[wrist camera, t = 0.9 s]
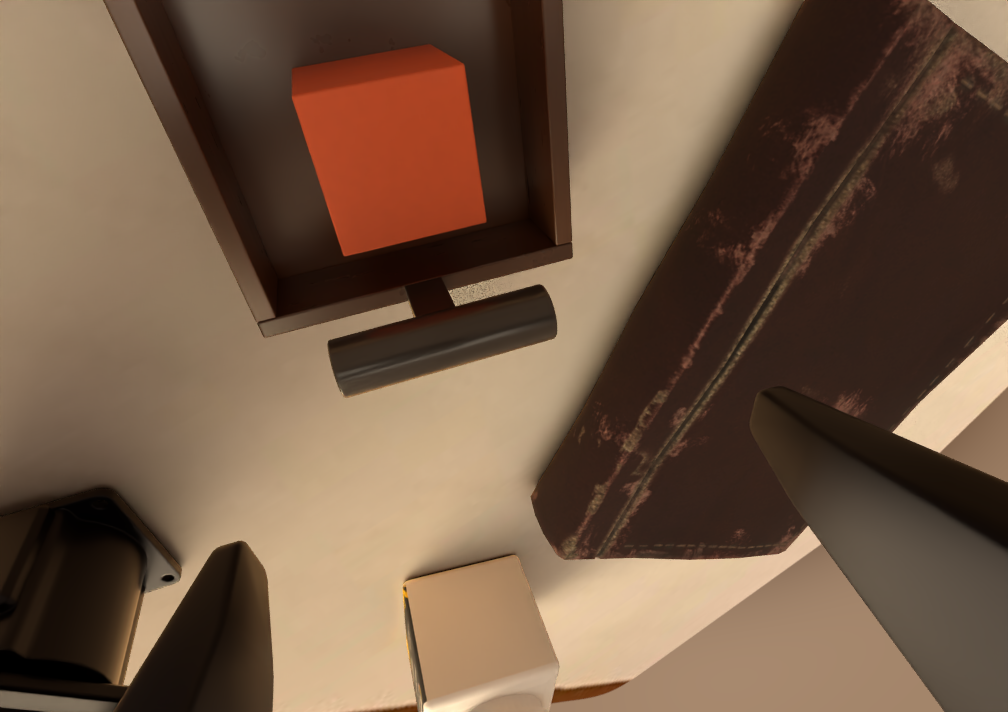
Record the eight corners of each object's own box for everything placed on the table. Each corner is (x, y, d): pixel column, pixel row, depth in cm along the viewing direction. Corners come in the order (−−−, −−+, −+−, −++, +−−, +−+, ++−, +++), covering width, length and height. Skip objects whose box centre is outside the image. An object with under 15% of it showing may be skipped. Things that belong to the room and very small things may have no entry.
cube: (454, 178, 18) (487, 222, 15) (334, 205, 18) (344, 257, 14) (430, 43, 16) (464, 63, 13) (291, 67, 15) (291, 95, 12)
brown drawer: (540, 235, 21) (626, 329, 16) (272, 302, 19) (265, 434, 14) (512, -132, 15) (643, -188, 9) (103, -81, 13) (-35, -113, 7)
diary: (518, 488, 30) (552, 567, 26) (789, -24, 19) (918, -20, 15) (748, 498, 38) (799, 558, 34) (1029, 148, 27) (1152, 178, 23)
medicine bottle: (401, 579, 31) (447, 837, 22) (517, 551, 33) (604, 776, 24) (406, 643, 35) (446, 884, 26) (510, 615, 38) (581, 829, 28)
